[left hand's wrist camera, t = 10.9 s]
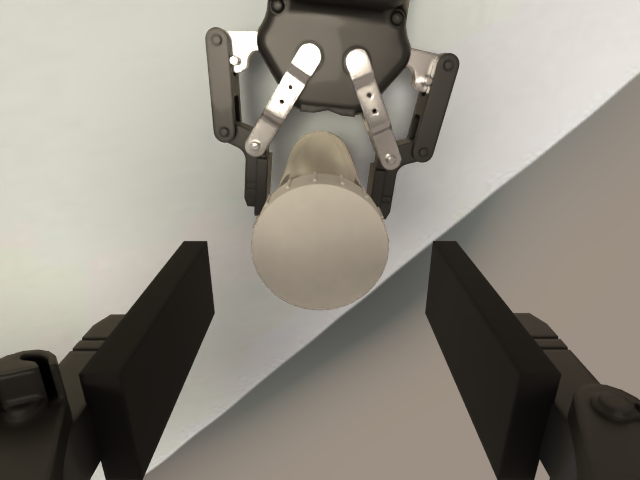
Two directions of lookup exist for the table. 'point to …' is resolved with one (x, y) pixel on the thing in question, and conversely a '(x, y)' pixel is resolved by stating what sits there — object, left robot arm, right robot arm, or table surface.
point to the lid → (320, 242)
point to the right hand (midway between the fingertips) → (316, 217)
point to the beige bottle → (320, 158)
